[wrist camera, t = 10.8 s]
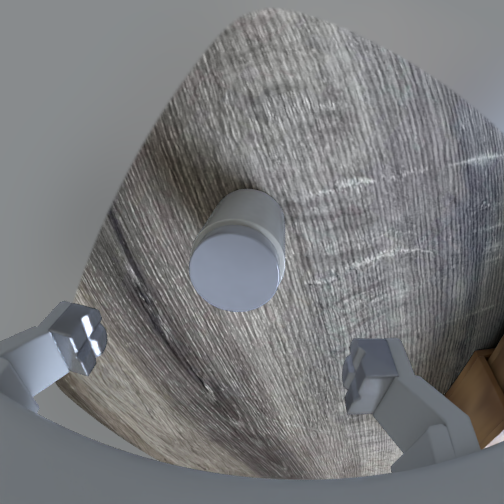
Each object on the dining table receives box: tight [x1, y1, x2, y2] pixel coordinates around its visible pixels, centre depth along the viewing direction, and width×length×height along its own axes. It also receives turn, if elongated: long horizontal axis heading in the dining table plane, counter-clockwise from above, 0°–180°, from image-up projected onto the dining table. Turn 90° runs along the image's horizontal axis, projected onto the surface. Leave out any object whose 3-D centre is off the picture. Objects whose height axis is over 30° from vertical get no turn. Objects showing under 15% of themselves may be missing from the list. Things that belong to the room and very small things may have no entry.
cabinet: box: [444, 348, 504, 450], centre depth 18 cm, size 15×13×9 cm
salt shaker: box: [189, 189, 285, 312], centre depth 14 cm, size 4×4×6 cm
